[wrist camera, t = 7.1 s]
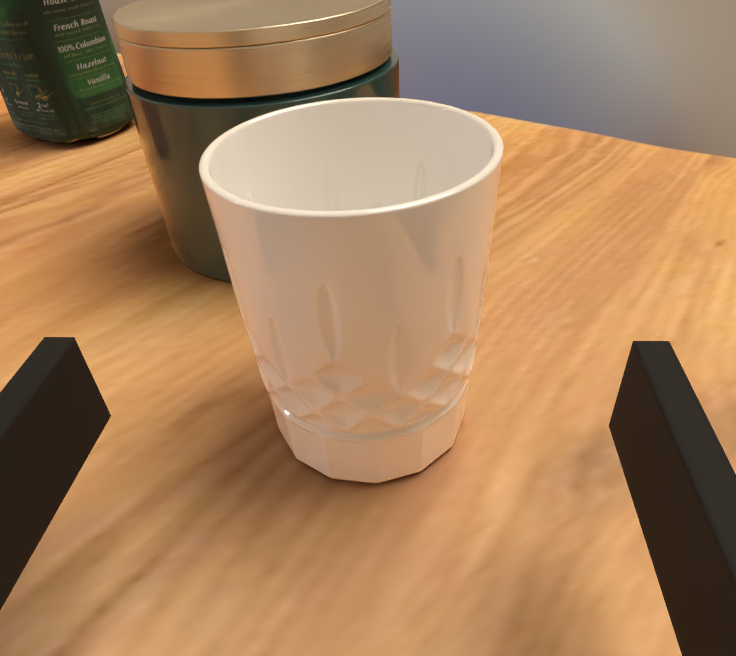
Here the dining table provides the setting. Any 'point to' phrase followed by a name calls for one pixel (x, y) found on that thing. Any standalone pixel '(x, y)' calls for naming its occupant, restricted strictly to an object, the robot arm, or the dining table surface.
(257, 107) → the jar
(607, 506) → the dining table surface
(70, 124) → the coffee jar
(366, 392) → the white cup
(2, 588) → the robot arm
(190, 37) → the jar lid
